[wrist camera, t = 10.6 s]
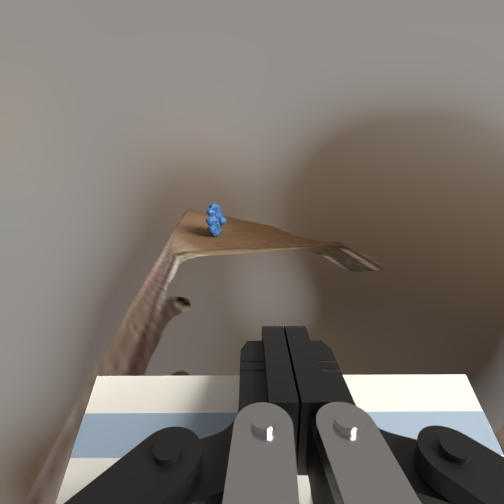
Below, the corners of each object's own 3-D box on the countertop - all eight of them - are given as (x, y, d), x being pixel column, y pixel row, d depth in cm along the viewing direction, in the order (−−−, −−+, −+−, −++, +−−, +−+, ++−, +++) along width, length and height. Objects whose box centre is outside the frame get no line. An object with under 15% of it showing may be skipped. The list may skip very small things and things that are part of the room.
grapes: (221, 241, 102) (220, 205, 98) (202, 239, 103) (201, 204, 100) (232, 233, 113) (231, 200, 109) (214, 232, 114) (213, 200, 111)
